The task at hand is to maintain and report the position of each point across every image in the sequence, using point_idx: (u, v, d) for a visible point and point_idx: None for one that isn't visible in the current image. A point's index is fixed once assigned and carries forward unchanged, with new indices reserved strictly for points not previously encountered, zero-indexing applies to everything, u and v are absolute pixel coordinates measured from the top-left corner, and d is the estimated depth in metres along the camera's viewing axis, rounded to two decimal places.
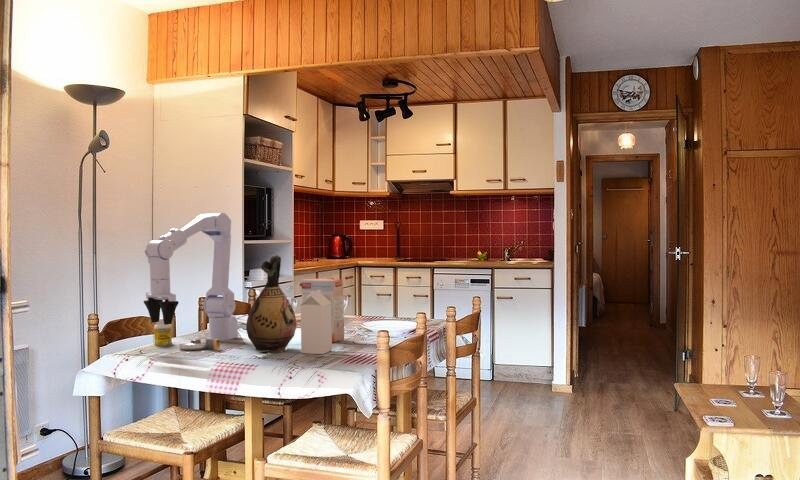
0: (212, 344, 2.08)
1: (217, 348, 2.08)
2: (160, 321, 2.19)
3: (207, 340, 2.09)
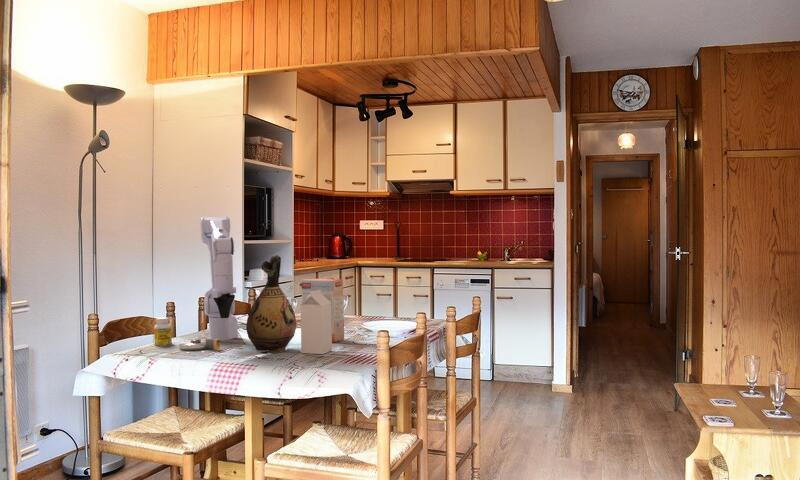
0: (212, 344, 2.08)
1: (217, 348, 2.08)
2: (160, 321, 2.19)
3: (207, 340, 2.09)
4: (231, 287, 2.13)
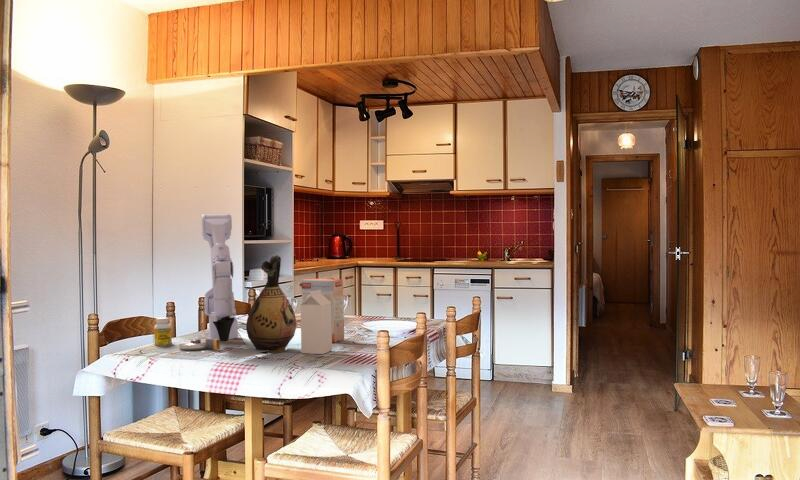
0: (212, 344, 2.08)
1: (217, 348, 2.08)
2: (160, 321, 2.19)
3: (207, 340, 2.09)
4: (230, 310, 2.12)
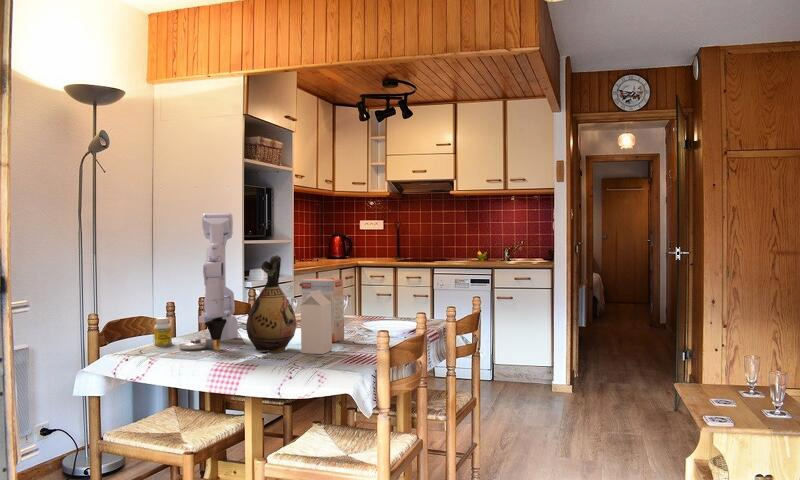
0: (212, 344, 2.08)
1: (217, 348, 2.08)
2: (160, 321, 2.19)
3: (207, 340, 2.09)
4: (221, 311, 2.09)
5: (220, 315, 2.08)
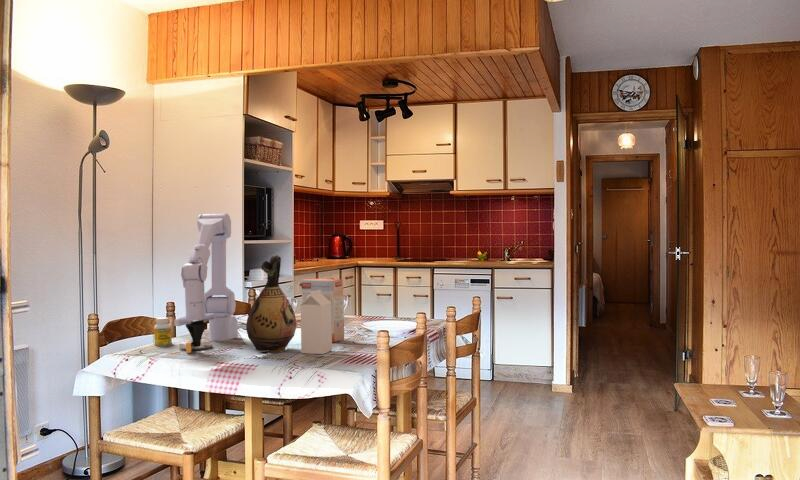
0: None
1: (187, 351, 2.03)
2: (160, 321, 2.19)
3: (189, 342, 2.07)
4: (200, 315, 2.04)
5: (198, 318, 2.03)
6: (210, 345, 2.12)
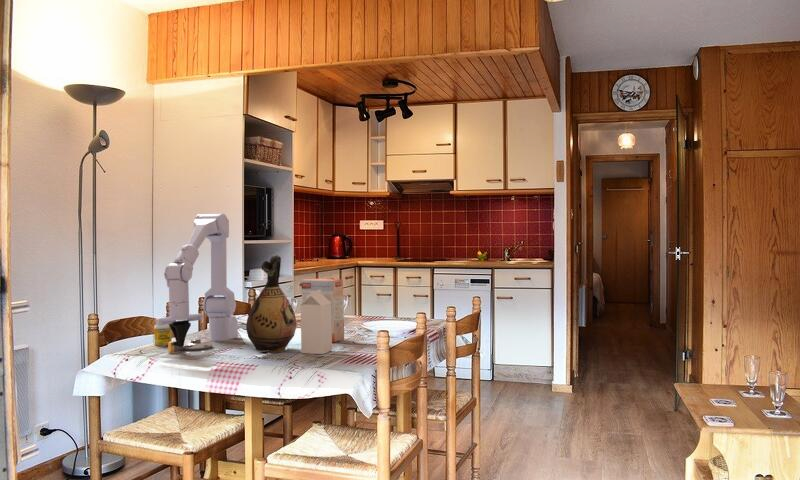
0: None
1: (168, 350, 2.05)
2: None
3: None
4: (182, 315, 2.03)
5: (179, 318, 2.03)
6: (201, 347, 2.09)
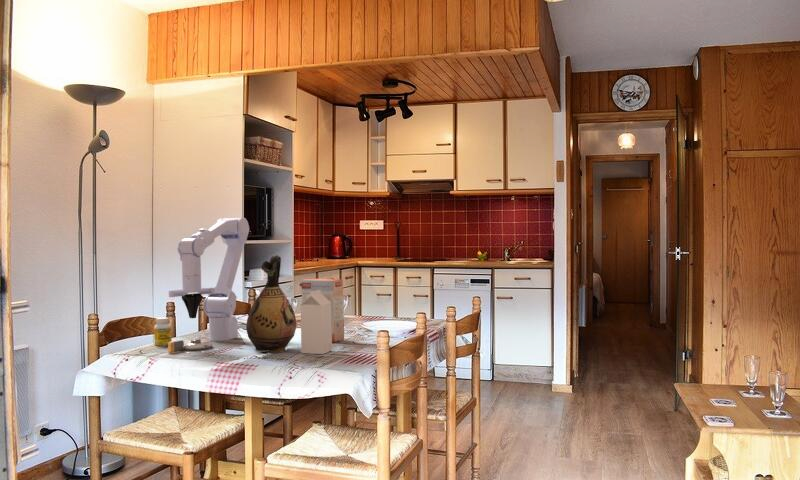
0: None
1: (168, 350, 2.05)
2: (160, 321, 2.19)
3: None
4: (194, 288, 2.12)
5: (191, 291, 2.11)
6: (201, 347, 2.09)
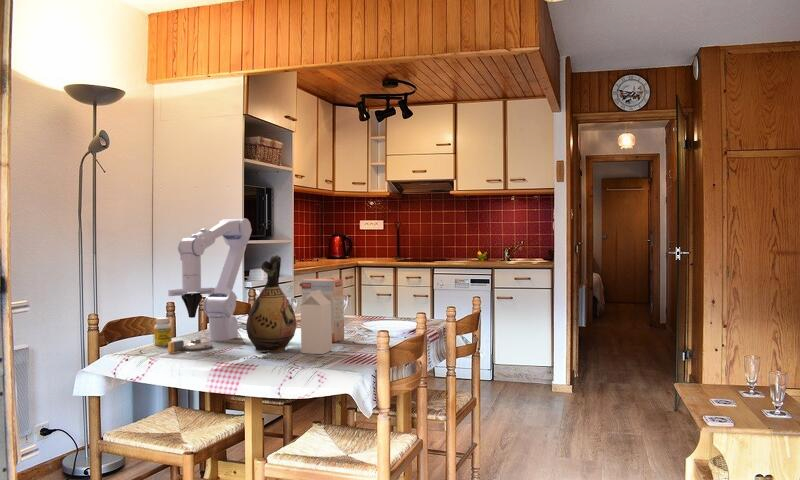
0: None
1: (168, 350, 2.05)
2: (160, 321, 2.19)
3: None
4: (193, 287, 2.13)
5: (191, 290, 2.12)
6: (201, 347, 2.09)
